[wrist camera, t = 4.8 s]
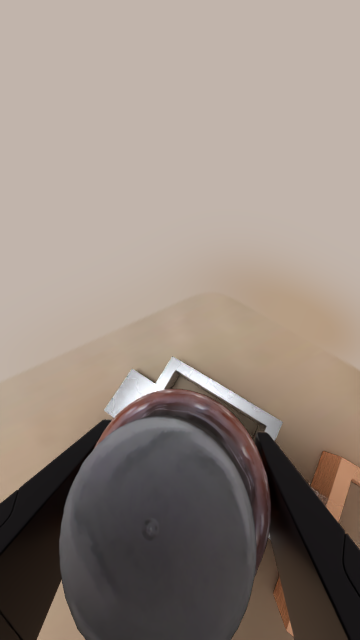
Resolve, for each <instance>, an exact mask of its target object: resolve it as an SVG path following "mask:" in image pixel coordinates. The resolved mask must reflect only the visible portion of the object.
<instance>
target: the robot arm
mask: <svg viewBox="0 0 360 640" xmlns="http://www.w3.org/2000/svg"><path fill="white" fill-rule="evenodd" d="M111 421H112V420H106V419H105V420H102V421H101V422H100V423H99V424H97V425H96V426H95V427H94V428H92V429H91V430H90V431H89V432H87V433H86V434H85V435H84V436H83V437H81V438H80V439H79V440H78V441H76V442H75V443H74V444H73V445H72V446H70V447H69V448H68V449H67V450H65V451H64V452H63V453H62V454H61V455H59V456H58V457H57V458H56V459H54V460H53V461H52V462H51V463H49V464H48V465H47V466H46V467H45V468H43V469H42V470H41V471H40V472H38V473H37V474H36V475H35V476H34V477H32V478H31V479H30V480H29V481H27V482H26V483H25V484H24V485H23V486H21V487H20V488H19V490H16V491H15V492H14V493H13V494H11V495H10V496H9V497H8V498H7V499H5V500H4V501H3V502H1V503H0V640H37V637H38V635H39V633H40V630H41V628H42V625H43V623H44V621H45V618H46V616H47V613H48V611H49V608H50V606H51V604H52V601H53V599H54V596H55V594H56V592H57V589H58V587H59V584H60V582H61V580H62V577H61V571H60V555H59V539H60V533H61V522H62V518H63V513H64V506H65V503H66V499H67V496H68V494H69V491H70V488H71V486H72V484H73V481H74V479H75V477H76V475H77V474H78V472H79V470H80V468H81V466H82V464H83V462H84V461H85V459H86V458H87V456H88V455H89V454H90V453H91V452H92V451H93V450H94V448H95V446H96V444H97V442H98V440H99V439H100V437H101V435H102V433H103V432H104V430H105V429H106V428H107V426H108V425H109V424H110V422H111ZM255 445H256V447H257V449H258V451H259V454H260V457H261V459H262V462H263V465H264V469H265V471H266V475H267V479H268V484H269V489H270V500H271V514H270V526H269V534H270V538H271V543H272V547H273V551H274V555H275V560H276V564H277V568H278V572H279V576H280V581H281V585H282V589H283V593H284V598H285V602H286V606H287V610H288V615H289V619H290V623H291V627H292V631H293V636H294V640H360V549H359V548H358V547H357V546H356V544H355V543H354V542H353V540H352V539H351V538H350V537H349V535H348V534H345V530H344V529H343V528H342V527H341V525H340V524H339V523H338V521H337V520H336V519H335V518H334V516H333V515H332V514H331V513H330V511H329V510H328V509H327V507H326V506H325V505H324V504H323V502H322V501H321V500H320V499H319V497H318V496H317V495H316V493H315V492H314V491H313V490H312V488H311V487H310V486H309V485H308V483H307V482H306V481H305V479H304V478H303V477H302V476H301V474H300V473H299V472H298V471H297V469H296V468H295V467H294V465H293V464H292V463H291V462H290V460H289V459H288V458H287V457H286V455H285V454H284V453H283V451H282V450H281V449H280V448H279V446H278V445H277V444H276V442H275V441H274V440H273V439H272V437H271V436H270V435H269V434H268V433H267V432H260V431H258V432H256V437H255Z"/></svg>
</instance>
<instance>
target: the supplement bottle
mask: <svg viewBox="0 0 360 640" xmlns="http://www.w3.org/2000/svg"><path fill="white" fill-rule="evenodd" d="M270 514H271V500H270V489H269V484H268V479H267V475H266V471H265V469H264V465H263V462H262V459H261V457H260V454H259V451H258V449H257V447H256V445H255V443H254V442H253V440H252V438H251V436H250V435H249V433H248V432H247V430H246V429H245V427H244V426H243V425H242V423H241V422H240V421H239V420H238V418H237V417H236V416H234V415H233V414H232V413H231V412H230V411H229V410H228V409H227V408H226V407H225V406H223V405H222V404H221V403H219V402H217V401H216V400H214V399H212V398H210V397H208V396H206V395H203V394H200V393H197V392H193V391H190V390H183V389H165V390H160V391H156V392H152V393H149V394H146V395H144V396H142V397H141V398H138V399H137V400H135V401H133V402H132V403H130V404H129V405H128V406H126V407H125V408H124V409H123V410H121V411H120V412H119V413H118V414H117V415H116V416H115V417H114V419H113V420H112V421H111V422H110V424H109V425H108V426H107V428H106V429H105V430H104V432H103V433H102V435H101V437H100V439H99V440H98V442H97V444H96V446H95V448H94V450H93V451H92V452H91V453H90V454H89V455H88V456H87V458H86V459H85V461H84V462H83V464H82V466H81V468H80V470H79V472H78V474H77V475H76V477H75V479H74V481H73V484H72V486H71V488H70V491H69V494H68V496H67V499H66V503H65V506H64V513H63V518H62V522H61V533H60V539H59V555H60V571H61V577H62V584H63V588H64V593H65V598H66V601H67V603H68V606H69V609H70V611H71V614H72V616H73V619H74V621H75V624H76V626H77V629H78V630H79V632H80V633H81V634H82V635H83V636H84V638H85V640H231V638H232V637H233V635H234V634H235V632H236V630H237V629H238V627H239V625H240V623H241V620H242V618H243V616H244V614H245V611H246V608H247V605H248V602H249V599H250V595H251V591H252V585H253V581H254V577H255V575H256V573H257V570H258V567H259V564H260V562H261V560H262V557H263V554H264V551H265V548H266V544H267V541H268V535H269V526H270Z"/></svg>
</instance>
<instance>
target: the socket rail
mask: <svg viewBox="0 0 360 640" xmlns="http://www.w3.org/2000/svg"><path fill="white" fill-rule="evenodd" d="M179 375H181V376H182V377H184V378H186V379H187V380H189V381H190V382H192V383H194V384H195V385H197V386H199V387H200V388H202V389H203V390H205V391H207V392H208V393H210V394H211V395H213V396H215V397H216V398H218V399H219V400H221V401H223V402H224V403H226V404H228V405H229V406H231V407H232V408H234V409H236V410H237V411H239V412H240V413H242V414H244V415H245V416H247V417H249V418H250V419H252V420H253V421H255V422H257V423H258V424H259V426H258V428H257V430H256V432H258V431H260V432H267V433H268V434H269V435H270V436H271V437H272V439H273V440H274V441H275V440H276V437H277V435H278V432H279V430H280V428H281V425H282V423H283V422H282V421H280V420H279V419H277V418H275V417H274V416H272V415H270V414H269V413H267V412H265V411H264V410H262V409H260V408H258V407H257V406H255V405H253V404H252V403H250V402H248V401H247V400H245V399H243V398H242V397H240V396H238V395H237V394H235V393H233V392H232V391H230V390H228V389H227V388H225V387H223V386H222V385H220V384H218V383H217V382H215V381H213V380H212V379H210V378H208V377H207V376H205V375H203V374H201V373H200V372H198V371H196V370H195V369H193V368H191V367H190V366H188V365H186V364H185V363H183V362H181V361H180V360H178V359H176V358H175V357H173V356H172V358H171V360H170V361H169V363H168V364H167V366H166V368H165V369H164V371H163V372H162V374H161V376H160V377H159V379H158V380H157V382H156V384H155V383H154V382H152V381H151V380H149V379H148V378H146V377H145V376H143V375H142V374H140V373H139V372H137V371H135V370H134V369H131V371H130V372H129V374H128V375H127V377H126V378H125V380H124V381H123V383H122V384H121V386H120V387H119V389H118V390H117V392H116V393H115V395H114V396H113V398H112V399H111V401H110V402H109V404H108V405H107V407H106V408H105V409H104V411H106V412H107V413H108V414H110V415H111V416H112V417H113V418H114V417H115V416H116V415H117V414H118V413H119V412H120V411H121V410H123V409H124V408H125V407H126V406H128V405H129V404H130V403H132V402H133V401H135V400H137V399H138V398H141V397H142V396H144V395H146V394H149V393H152V392H156V391H160V390H165V389H171V388H172V386H173V384H174V383H175V381H176V379H177V378H178V376H179ZM256 432H255V435H254V437H253V439H252V440H253V442H254V443H255V437H256ZM351 481H352V482H353V483H355V484H357V485H358V486H360V468H359V467H357V466H356V465H354V464H352V463H351V462H349V461H347V460H346V459H344V458H342V457H340V456H337V455H334V454H331V453H328V452H325V451H323V452H322V455H321V458H320V461H319V464H318V467H317V470H316V472H315V475H314V478H313V481H312V484H311V486H310V487H311V488H312V490H313V491H314V492H315V493H316V495H317V496H318V497H319V499H320V500H321V501H322V502H323V504H324V505H325V506H326V507H327V509H328V510H329V511H330V513H331V514H332V515H333V516H334V518H335V519H336V520H337V521H338V523H339V519H340V516H341V513H342V509H343V506H344V503H345V499H346V496H347V493H348V490H349V486H350V483H351ZM268 538H269V539H270V540H271V538H270V534H269V535H268ZM273 594H274V597H275V600H276V603H277V606H278V608H279V611H280V614H281V617H282V620H283V622H284V625H285V628H286V631H288V632H289V633H290V634H291V635H292V636H293V631H292V627H291V623H290V619H289V615H288V610H287V606H286V602H285V598H284V593H283V589H282V585H281V581H280V576H279V578H278V581H277V584H276V587H275V590H274V593H273ZM293 637H294V636H293Z"/></svg>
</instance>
